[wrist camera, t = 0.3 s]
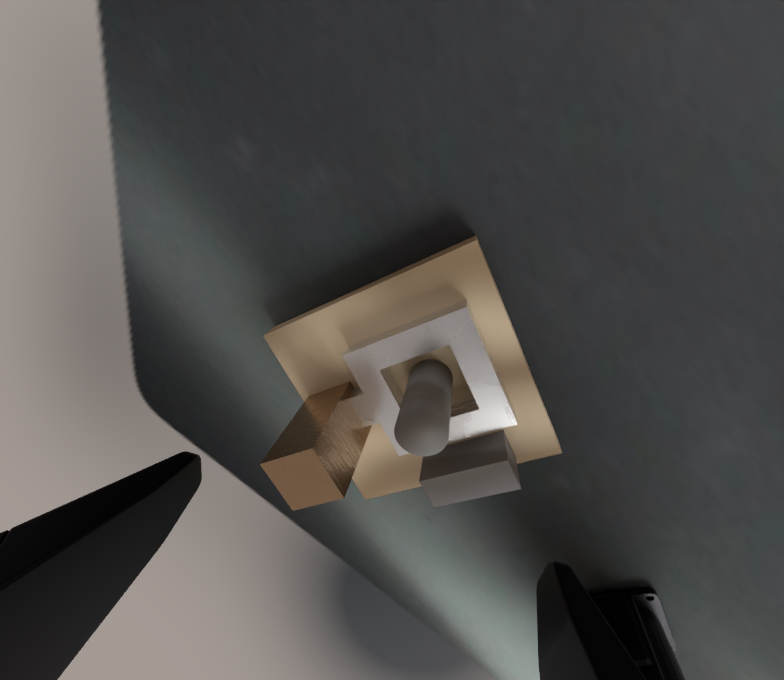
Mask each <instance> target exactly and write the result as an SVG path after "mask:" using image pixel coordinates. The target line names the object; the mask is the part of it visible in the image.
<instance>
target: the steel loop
mask: <svg viewBox="0 0 784 680" xmlns="http://www.w3.org/2000/svg"><path fill="white" fill-rule="evenodd" d="M447 345H450V347H451V349H452V351H453V353H454V355H455V357H456V360H457V362H458V364H459V366H460V368H461V370H462V373H463V375H464V377H465V379H466V381H467V383H468V385H469V388H470V390H471V392H472V394H473V396H474V399H471V400H468V401H464V402H461V403H458V404H455V405H451V414H450V427H449V439H448V443H450V442H453V441H457V440H461V439H464V438H468V437H472V436H475V435H479V434H483V433H486V432H490V431H494V430H498V429H501V428H505V427H509V426H512V425H516V424H517V419H516V414H515V410H514V408H513V405H512V403H511V401H510V398H509V396H508V394H507V391H506V389H505V387H504V385H503V382H502V380H501V378H500V375H499V373H498V371H497V368H496V366H495V364H494V361H493V359H492V357H491V354H490V352H489V350H488V347H487V345H486V343H485V340H484V338H483V336H482V333H481V331H480V329H479V326H478V324H477V322H476V319H475V317H474V315H473V312H472V310H471V308H470V306H469V303H468V301H467V299H466V300H464V301H461V302H459V303H456V304H453V305H451V306H448V307H446V308H443V309H441V310H438V311H436V312H433V313H431V314H428V315H426V316H423V317H421V318H418V319H416V320H413V321H411V322H408V323H406V324H403V325H401V326H398V327H396V328H393V329H391V330H388V331H386V332H383V333H381V334H378V335H376V336H373V337H371V338H368V339H366V340H363V341H361V342H358V343H356V344H353V345H351V346H348V348H347V349H346V351H345V352H344V354H343V355H342V356H343V358H344V360H345V362H346V363H347V365H348V367H349V369H350V370H351V372H352V374H353V376H354V377H355V379H356V381H357V383H358V385H359V387H356V388H354V387H353V385H352V383H351V382H350V381H349V382H346V383H344V384H341V385H338V386H335V387H332V388H330V389H327V390H324V391H321V392H319V393H316V394H313V395H310V396H308V398H307V399H306V401H305V402H304V403H303V405H302V406H301V408H300V409H299V410H298V412H297V413H296V415H295V416H294V417H293V419H292V420H291V421H290V423H289V424H288V426H287V427H286V428H285V430H284V431H283V433H282V434H281V435H280V437H279V438H278V440H277V441H276V442H275V444H274V445H273V447H272V448H271V449H270V451H269V452H268V454H267V455H266V456H265V458H264V459H263V460H262V462H261V463H260V465H261V467H262V468H263V469H264V471H265V472H266V474H267V475H268V476H269V478H270V479H271V481H272V482H273V483H274V485H275V486H276V488H277V489H278V491H279V492H280V493H281V495H282V496H283V498H284V499H285V500H286V502H287V503H288V505H289V506H290V507H291V509H292V510H297V509H302V508H306V507H310V506H314V505H318V504H322V503H326V502H330V501H334V500H339V499H343V498H344V497H345V495H346V492H347V489H348V487H349V484H350V482H351V479H352V476H353V474H354V471H355V469H356V466H357V463H358V461H359V458H360V455H361V453H362V450H363V448H364V445H365V442H366V440H367V437H368V435H369V432H370V429H371V427H372V425H373V424H376V423H381V425H382V427H383V429H384V431H385V432H386V434H387V436H388V438H389V439H390V441H391V443H392V445H393V446H394V448H395V450H396V452H397V454H398V455H399V456H402V455H405V454H409V452H407V451H405V450H404V449H403V448H402V447H401V446H400V445H399V444H398V442H397V441H396V439H395V435H394V428H395V424H396V420H397V417H398V414H399V410H400V407H401V403H402V400H403V395H402V393H401V391H400V390H399V388H398V386H397V384H396V382H395V380H394V378H393V376H392V374H391V373H390V371H389V369H388V367H389V366H392V365H395V364H397V363H400V362H403V361H406V360H409V359H411V358H414V357H417V356H420V355H422V354H425V353H428V352H431V351H433V350H436V349H439V348H442V347H444V346H447Z"/></svg>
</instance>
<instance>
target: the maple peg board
mask: <svg viewBox="0 0 784 680" xmlns="http://www.w3.org/2000/svg"><path fill="white" fill-rule="evenodd" d="M466 299H467V301H468V303H469V306H470V308H471V310H472V312H473V315H474V317H475V319H476V322H477V324H478V326H479V329H480V331H481V333H482V336H483V338H484V340H485V343H486V345H487V347H488V350H489V352H490V354H491V357H492V359H493V361H494V364H495V366H496V368H497V371H498V373H499V375H500V378H501V380H502V382H503V385H504V387H505V389H506V391H507V394H508V396H509V398H510V401H511V403H512V405H513V408H514V410H515V414H516V419H517V424H516V425H512V426H509V427H505V428H501V429H498V430H494V431H490V432H486V433H483V434H479V435H475V436H472V437H468V438H464V439H461V440H457V441H453V442H450V443H448V439H449V427H450V414H451V405H455V404H458V403H461V402H464V401H468V400H471V399H474V396H473V394H472V392H471V390H470V388H469V385H468V383H467V381H466V379H465V377H464V375H463V373H462V370H461V368H460V366H459V364H458V362H457V360H456V357H455V355H454V353H453V351H452V349H451V347H450V345H447V346H444V347H442V348H439V349H436V350H433V351H431V352H428V353H425V354H422V355H420V356H417V357H414V358H411V359H409V360H406V361H403V362H400V363H397V364H395V365H392V366H389V367H388V369H389V371H390V373H391V374H392V376H393V378H394V380H395V382H396V384H397V386H398V388H399V390H400V391H401V393H402V395H403V400H402V403H401V407H400V410H399V414H398V417H397V420H396V424H395V428H394V435H395V439H396V441H397V442H398V444H399V445H400V446H401V447H402V448H403V449H404V450H405V451H407V452H409V454H405V455H402V456H399V455H398V454H397V452H396V450H395V448H394V446H393V445H392V443H391V441H390V439H389V438H388V436H387V434H386V432H385V431H384V429H383V427H382V425H381V423H376V424H373V425H372V427H371V429H370V432H369V435H368V437H367V440H366V442H365V445H364V448H363V450H362V453H361V455H360V458H359V461H358V463H357V466H356V469H355V471H354V474H353V476H352V479H353V481H354V482H355V484H356V485H357V487H358V489H359V490H360V492H361V493H362V495H363V497H364V498H365V500H366V499H370V498H374V497H378V496H383V495H387V494H391V493H395V492H400V491H404V490H408V489H412V488H417V487H421V486H422V488H423V490H424V491H425V493H426V495H427V497H428V499H429V500H430V502H431V504H432V506H433V507H434V508H435V507H439V506H444V505H449V504H454V503H458V502H463V501H468V500H472V499H477V498H482V497H486V496H491V495H496V494H501V493H505V492H510V491H515V490H519V489H521V485H520V480H519V474H518V468H517V464H518V463H522V462H527V461H531V460H535V459H539V458H544V457H548V456H552V455H556V454H561V453H562V450H561V447H560V445H559V442H558V439H557V436H556V433H555V431H554V428H553V426H552V423H551V421H550V418H549V416H548V413H547V411H546V408H545V406H544V403H543V401H542V398H541V396H540V393H539V391H538V388H537V386H536V383H535V381H534V378H533V376H532V373H531V371H530V368H529V366H528V363H527V361H526V358H525V356H524V353H523V351H522V348H521V346H520V343H519V341H518V338H517V336H516V333H515V331H514V328H513V326H512V323H511V321H510V318H509V316H508V313H507V311H506V308H505V306H504V303H503V301H502V298H501V296H500V293H499V291H498V288H497V286H496V283H495V281H494V278H493V276H492V273H491V271H490V268H489V266H488V263H487V261H486V258H485V256H484V253H483V251H482V248H481V246H480V243H479V241H478V238H477V236H476V235H475V236H473V237H471V238H469V239H467V240H464V241H462V242H460V243H458V244H456V245H453V246H451V247H449V248H447V249H445V250H442V251H440V252H438V253H436V254H433V255H431V256H429V257H427V258H425V259H422V260H420V261H418V262H416V263H414V264H411V265H409V266H407V267H405V268H403V269H400V270H398V271H396V272H394V273H392V274H389V275H387V276H385V277H383V278H381V279H378V280H376V281H374V282H372V283H370V284H367V285H365V286H363V287H361V288H358V289H356V290H354V291H352V292H350V293H347V294H345V295H343V296H341V297H339V298H336V299H334V300H332V301H330V302H328V303H325V304H323V305H321V306H319V307H317V308H314V309H312V310H310V311H308V312H306V313H303V314H301V315H299V316H297V317H295V318H292V319H290V320H288V321H286V322H284V323H281V324H279V325H277V326H275V327H273V328H272V329H271V330H270V331H268V332H267V333H266V334H265V335H263V337H264V338H265V340H266V342H267V343H268V345H269V346H270V348H271V350H272V351H273V353H274V354H275V356H276V357H277V359H278V361H279V362H280V364H281V365H282V367H283V369H284V370H285V372H286V373H287V375H288V377H289V378H290V380H291V381H292V383H293V385H294V386H295V388H296V389H297V391H298V393H299V394H300V396H301V397H302V399H303V401H304V402H305V401H306V399H307V398H308V396H310V395H313V394H316V393H319V392H321V391H324V390H327V389H330V388H332V387H335V386H338V385H341V384H344V383H346V382H349V381H350V382H351V383H352V385H353V387H354V388H356V387H359V385H358V383H357V381H356V379H355V377H354V376H353V374H352V372H351V370H350V369H349V367H348V365H347V363H346V362H345V360H344V358H343V356H342V355H343V354H344V352H345V351H346V349H347V348H348V346H351V345H353V344H356V343H358V342H361V341H363V340H366V339H368V338H371V337H373V336H376V335H378V334H381V333H383V332H386V331H388V330H391V329H393V328H396V327H398V326H401V325H403V324H406V323H408V322H411V321H413V320H416V319H418V318H421V317H423V316H426V315H428V314H431V313H433V312H436V311H438V310H441V309H443V308H446V307H448V306H451V305H453V304H456V303H459V302H461V301H464V300H466Z"/></svg>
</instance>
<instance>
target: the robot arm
mask: <svg viewBox="0 0 784 680" xmlns="http://www.w3.org/2000/svg"><path fill="white" fill-rule="evenodd" d="M201 479H202V475H201V458H200V456H199V455H197V454H194V453H190V452H181V453H179V454H176V455H174V456H172V457H170V458H168V459H165V460H163V461H161V462H159V463H156V464H154V465H152V466H150V467H147V468H145V469H143V470H141V471H139V472H136V473H134V474H132V475H130V476H127V477H125V478H123V479H121V480H119V481H116V482H114V483H112V484H109V485H107V486H105V487H103V488H100V489H98V490H96V491H94V492H92V493H89V494H87V495H85V496H83V497H80V498H78V499H76V500H74V501H71V502H69V503H67V504H65V505H63V506H60V507H58V508H56V509H54V510H52V511H49V512H47V513H45V514H42V515H40V516H38V517H36V518H34V519H31V520H29V521H27V522H24V523H22V524H20V525H18V526H16V527H14V528H12V529H11V530H10V531H8V530H7V531H4V532H2V533H0V680H57V679H58V678H59V677H60V676H61V674H62V673H63V671H64V670H65V669H66V668H67V667H68V665H69V664H70V662H71V661H72V660H73V659H74V657H75V656H76V655H77V654H78V652H79V651H80V650H81V648H82V647H83V646H84V644H85V643H86V642H87V641H88V639H89V638H90V637H91V635H92V634H93V633H94V632H95V630H96V629H97V628H98V627H99V625H100V623H102V621H103V620H104V619H105V617H106V616H107V615H108V614H109V612H110V611H111V610H112V608H113V607H114V606H115V605H116V603H117V602H118V601H119V599H120V598H121V597H122V596H123V594H124V593H125V592H126V590H127V589H128V588H129V586H130V585H131V584H132V583H133V581H134V580H135V578H136V577H137V576H138V575H139V574H140V572H141V571H142V570H143V568H144V567H145V566H146V565H147V563H148V562H149V561H150V559H151V558H152V557H153V555H154V554H155V553H156V552H157V550H158V549H159V548H160V546H161V545H162V543H163V542H164V541H165V539H166V538H167V536H168V535H169V533H170V531H171V530H172V528H173V527H174V525H175V524H176V522H177V521H178V519H179V517H180V516H181V514H182V513H183V511H184V509H185V508H186V506H187V505H188V503H189V502H190V500H191V499H192V497H193V495H194V494H195V492H196V491H197V489H198V487H199V485H200V483H201ZM537 628H538V659H539V672H540V680H685V678H684V676H683V673H682V671H681V669H680V666H679V664H678V662H677V659H676V657H675V655H674V651H676V645H675V643H674V640H673V637H672V634H671V631H670V629H669V626H668V623H667V620H666V617H665V615H664V612H663V609H662V606H661V603H660V601H659V598H658V596H657V593H656V591H655V590H654V589H652V588H640V589H631V590H622V591H613V592H604V593H596V594H588V592H587V591H586V589H585V588H584V586H583V585H582V583H581V582H580V581H579V579H578V578H577V576H576V575H575V573H574V572H573V570H572V569H571V568H570V567H569V566H568V565H567V564H564V563H561V562H557V561H554V560H551V561H549V562H548V564H547V566H546V568H545V569H544V571H543V573H542V575H541V577H540V578H539V580H538V583H537Z"/></svg>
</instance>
